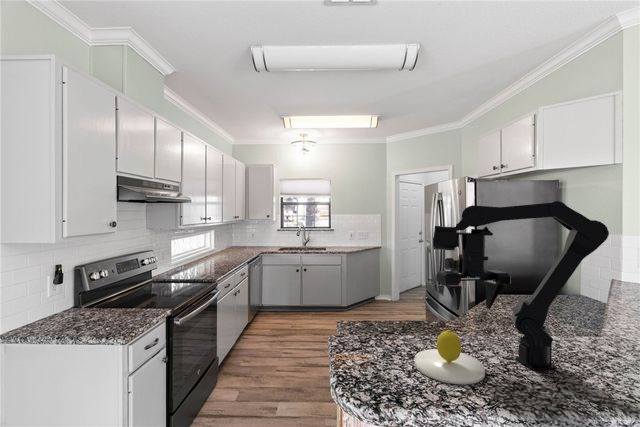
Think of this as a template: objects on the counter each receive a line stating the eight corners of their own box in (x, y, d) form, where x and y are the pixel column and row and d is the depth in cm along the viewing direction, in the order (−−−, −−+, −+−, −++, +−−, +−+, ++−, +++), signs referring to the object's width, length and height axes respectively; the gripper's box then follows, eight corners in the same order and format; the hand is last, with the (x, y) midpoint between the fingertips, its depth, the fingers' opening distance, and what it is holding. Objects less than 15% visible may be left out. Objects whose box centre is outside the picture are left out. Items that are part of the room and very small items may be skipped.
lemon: (463, 368, 77) (463, 335, 77) (438, 366, 78) (438, 333, 78) (458, 358, 82) (458, 327, 82) (435, 356, 83) (435, 325, 84)
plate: (460, 352, 89) (460, 347, 89) (500, 381, 73) (500, 376, 73) (404, 355, 87) (404, 350, 87) (433, 386, 71) (433, 381, 71)
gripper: (485, 248, 98) (485, 300, 98) (427, 248, 95) (426, 302, 95) (512, 252, 87) (512, 311, 87) (447, 253, 84) (446, 313, 84)
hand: (472, 309), depth 89 cm, fingers open, 9 cm apart
